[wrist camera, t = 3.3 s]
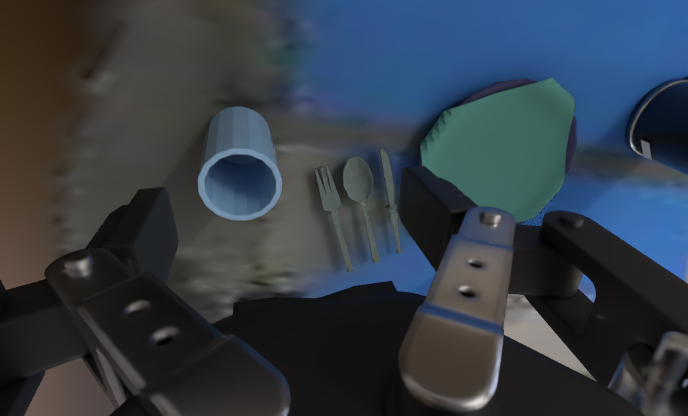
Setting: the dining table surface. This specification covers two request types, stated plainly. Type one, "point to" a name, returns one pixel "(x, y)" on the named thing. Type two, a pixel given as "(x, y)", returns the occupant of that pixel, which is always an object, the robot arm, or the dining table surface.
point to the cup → (239, 165)
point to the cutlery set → (481, 154)
